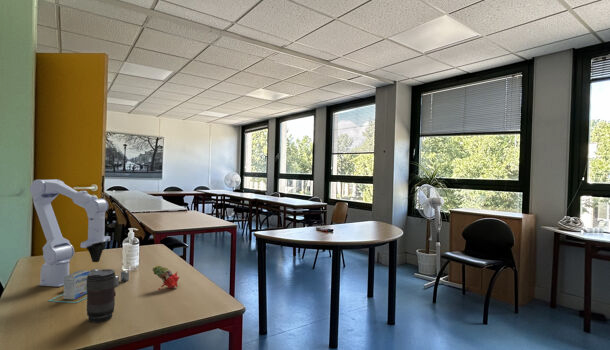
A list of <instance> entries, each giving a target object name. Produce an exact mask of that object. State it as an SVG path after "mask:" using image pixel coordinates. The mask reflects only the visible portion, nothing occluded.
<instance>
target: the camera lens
mask: <svg viewBox="0 0 610 350" xmlns="http://www.w3.org/2000/svg"><path fill="white" fill-rule="evenodd" d="M115 272H116V271H115V269H110V268H107V269H106V268H105V269H99V270H97V271H93V272H90V273H88V275H87V294H86V297H87V298H86V315H87V318H88V321H89V322H91V323H101V322H106V321H108V320H110V319H112V318H113V313H114V312H115V305H116V299H115V297H116V295H117V294H116V289H115V288H116V287H115V275H116V273H115Z"/></svg>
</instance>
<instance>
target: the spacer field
mask: <svg viewBox="0 0 610 350" xmlns="http://www.w3.org/2000/svg"><path fill="white" fill-rule="evenodd" d="M97 270H100V269H99V268H92V269H90V270H89V271H90V272H93V271H97ZM129 280H130V271H129V270H122V271H120V275H118V274H117V275H116V274H115V288H117V287H119V286H120V284H119V283H126V282H129Z"/></svg>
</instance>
